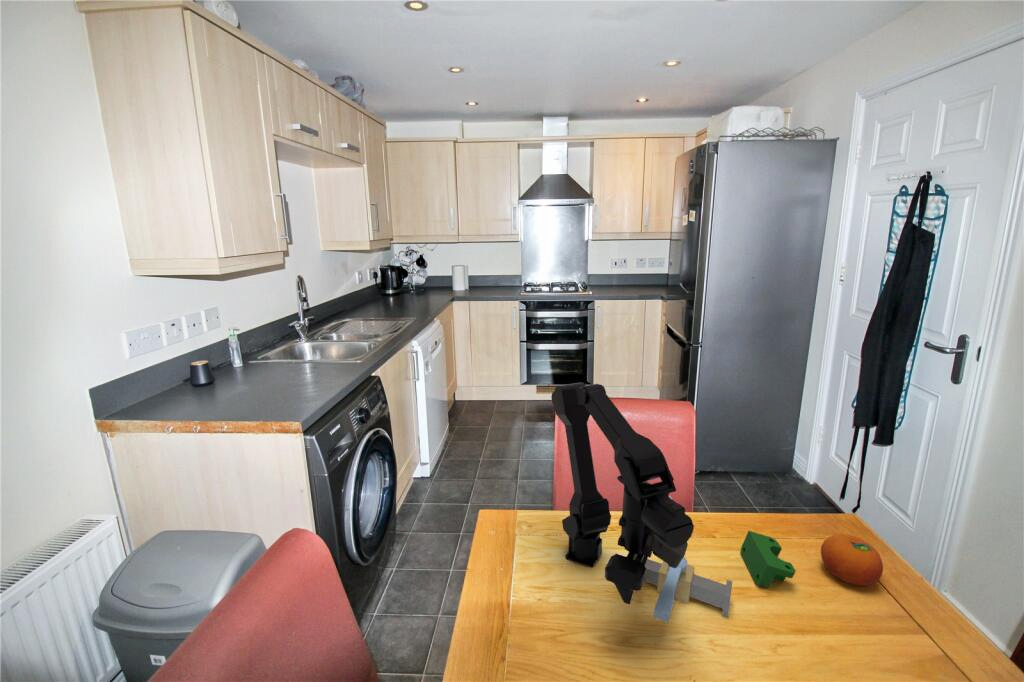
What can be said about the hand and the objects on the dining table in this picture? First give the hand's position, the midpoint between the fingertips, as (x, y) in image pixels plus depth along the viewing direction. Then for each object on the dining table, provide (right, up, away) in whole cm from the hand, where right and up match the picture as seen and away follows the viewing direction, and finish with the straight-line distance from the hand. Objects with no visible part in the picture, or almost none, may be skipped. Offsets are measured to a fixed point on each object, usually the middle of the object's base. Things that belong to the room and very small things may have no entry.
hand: (633, 586), depth 88 cm
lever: (+7, -1, 0) cm, 7 cm away
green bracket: (+31, -3, +12) cm, 34 cm away
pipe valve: (+10, -4, +7) cm, 13 cm away
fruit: (+48, -4, +11) cm, 49 cm away
